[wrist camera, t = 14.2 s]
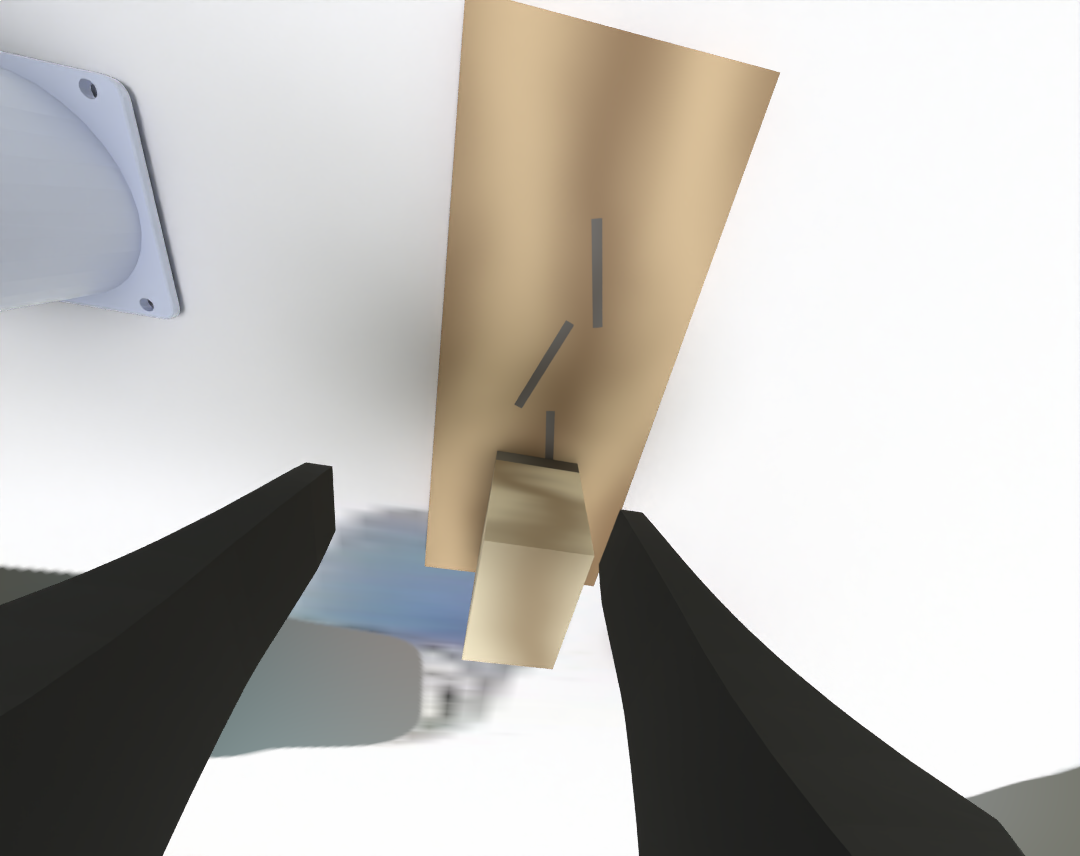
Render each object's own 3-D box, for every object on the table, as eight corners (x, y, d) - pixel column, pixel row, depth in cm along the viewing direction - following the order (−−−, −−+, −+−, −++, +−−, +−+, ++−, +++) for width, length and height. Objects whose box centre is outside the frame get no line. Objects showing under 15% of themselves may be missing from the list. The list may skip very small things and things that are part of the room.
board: (429, 550, 24) (424, 566, 23) (471, 7, 13) (465, -12, 12) (591, 570, 25) (593, 586, 24) (760, 83, 14) (780, 72, 13)
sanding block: (478, 554, 22) (461, 659, 17) (497, 450, 19) (483, 540, 14) (547, 563, 23) (552, 669, 17) (577, 463, 20) (594, 555, 14)
